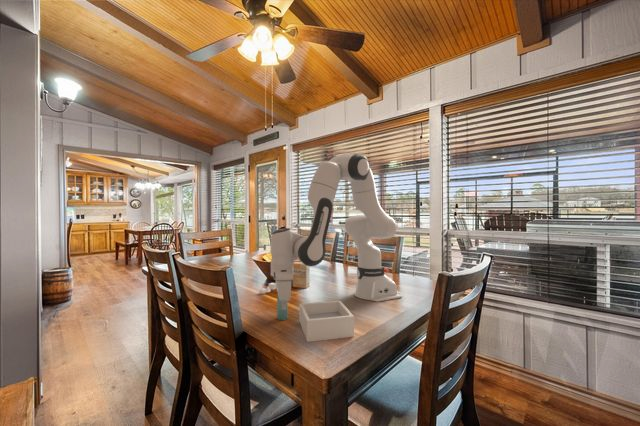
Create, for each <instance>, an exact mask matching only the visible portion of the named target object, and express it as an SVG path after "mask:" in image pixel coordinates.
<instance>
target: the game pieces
mask: <svg viewBox="0 0 640 426" xmlns="http://www.w3.org/2000/svg"><path fill="white" fill-rule="evenodd" d="M274 290H277V288H276V282H270V283H268V286H266V288H265V287H261V288H259V293H260V295H265V294H266V293H270V292H271V291H274Z"/></svg>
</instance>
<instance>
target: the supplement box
mask: <svg viewBox="0 0 640 426" xmlns="http://www.w3.org/2000/svg"><path fill="white" fill-rule="evenodd" d="M293 268H294V269H293V270H294V274H293V280H292V287H293V288H298V289H299V288H301V289H307V288H309V287H310V280H311V279H310V275H311V274H310V271H311V270H310V268H311V266H307V265H305V264H304V263H303V262H301V261H293Z"/></svg>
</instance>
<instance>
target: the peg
mask: <svg viewBox="0 0 640 426" xmlns="http://www.w3.org/2000/svg"><path fill="white" fill-rule="evenodd" d="M288 307H289V305H288V302H287V303H286V309H285V310H282V309H281V302H280V299H279V296H278V294H277V295H276V310H277V311H276V317H277V318H276V319H277V321H286V320H288Z"/></svg>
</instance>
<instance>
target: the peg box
mask: <svg viewBox="0 0 640 426" xmlns="http://www.w3.org/2000/svg"><path fill="white" fill-rule="evenodd" d="M299 324H300V327H301V329H302V332H303V334H304V337H305V339H306V342H307V343H310V342H319V341H326V340H327V341H328V340H336V339H338V340H339V339H346V338H353V337H355V315H354V314H353V313H352V312H351V311H350V310H349V309H348V307H347V306H346V305H345V304H344V303H343V302H342V301H341V300H329V301H319V302H304V303H299Z"/></svg>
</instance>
